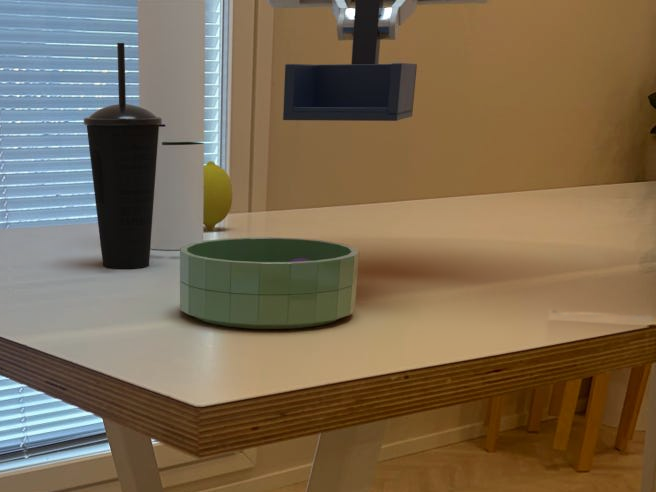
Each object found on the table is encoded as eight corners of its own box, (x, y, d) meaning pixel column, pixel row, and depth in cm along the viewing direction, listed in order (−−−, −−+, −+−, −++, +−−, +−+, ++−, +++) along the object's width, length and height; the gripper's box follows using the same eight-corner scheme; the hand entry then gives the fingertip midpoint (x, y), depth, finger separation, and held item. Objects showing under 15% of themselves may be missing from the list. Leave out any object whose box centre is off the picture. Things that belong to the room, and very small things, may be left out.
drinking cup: (155, 271, 103) (152, 41, 93) (81, 269, 104) (71, 42, 94) (169, 260, 110) (167, 43, 100) (99, 258, 111) (91, 44, 101)
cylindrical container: (159, 240, 123) (156, -5, 112) (213, 243, 121) (216, -8, 109) (130, 247, 118) (124, -10, 106) (186, 251, 115) (187, -12, 103)
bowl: (366, 302, 89) (371, 241, 86) (335, 337, 77) (340, 267, 74) (208, 293, 92) (209, 234, 90) (156, 325, 81) (155, 258, 78)
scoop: (415, 115, 89) (428, -22, 84) (396, 120, 79) (410, -34, 74) (312, 115, 91) (319, -19, 86) (282, 120, 82) (288, -30, 77)
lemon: (215, 226, 135) (216, 159, 131) (240, 230, 131) (241, 161, 127) (180, 229, 132) (180, 160, 129) (204, 233, 128) (205, 163, 125)
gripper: (272, -122, 89) (239, 4, 86) (517, -137, 83) (493, -3, 80) (281, -55, 95) (251, 65, 91) (511, -64, 89) (488, 63, 86)
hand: (366, 34), depth 86 cm, fingers closed on scoop
